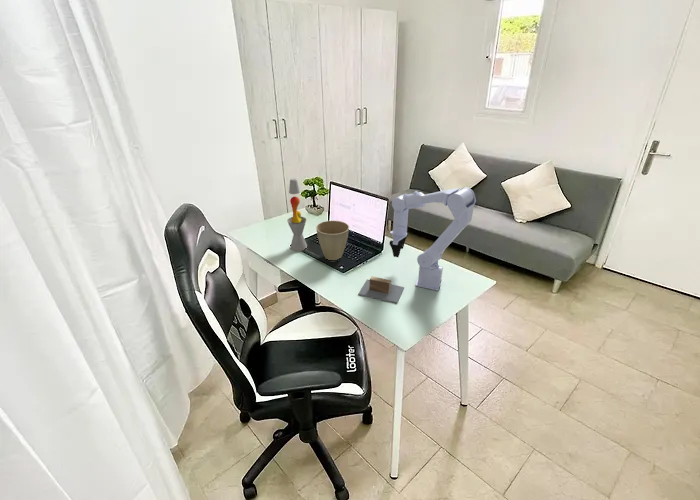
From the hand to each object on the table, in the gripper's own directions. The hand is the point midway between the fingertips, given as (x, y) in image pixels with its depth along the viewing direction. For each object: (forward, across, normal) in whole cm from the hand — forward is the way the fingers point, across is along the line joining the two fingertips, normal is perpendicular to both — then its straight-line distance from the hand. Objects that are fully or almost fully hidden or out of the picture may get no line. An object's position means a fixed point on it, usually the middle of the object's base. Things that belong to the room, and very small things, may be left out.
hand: (398, 252), depth 153 cm
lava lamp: (+10, -4, -51) cm, 52 cm away
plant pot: (+10, -1, -31) cm, 32 cm away
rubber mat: (+9, +18, -2) cm, 20 cm away
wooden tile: (+9, +18, -3) cm, 20 cm away
